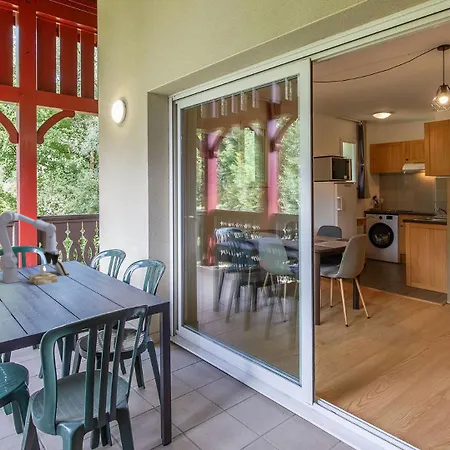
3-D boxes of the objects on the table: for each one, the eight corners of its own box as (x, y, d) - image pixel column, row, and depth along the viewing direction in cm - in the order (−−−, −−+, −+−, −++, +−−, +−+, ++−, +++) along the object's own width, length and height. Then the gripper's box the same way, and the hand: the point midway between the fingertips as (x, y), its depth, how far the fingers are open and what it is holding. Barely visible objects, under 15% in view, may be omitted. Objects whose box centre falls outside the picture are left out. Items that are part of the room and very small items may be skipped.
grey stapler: (70, 274, 257) (64, 261, 254) (63, 277, 254) (57, 264, 251) (64, 270, 270) (59, 258, 267) (57, 273, 267) (52, 260, 265)
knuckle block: (29, 281, 235) (29, 275, 235) (48, 278, 244) (48, 272, 244) (37, 285, 228) (37, 278, 227) (57, 281, 237) (57, 275, 236)
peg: (39, 281, 236) (39, 266, 235) (44, 281, 238) (44, 265, 237) (42, 282, 234) (41, 266, 233) (46, 281, 236) (46, 266, 235)
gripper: (62, 243, 240) (63, 264, 241) (52, 241, 249) (52, 261, 250) (51, 244, 234) (52, 266, 235) (41, 242, 244) (41, 263, 245)
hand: (51, 264), depth 242 cm, fingers open, 7 cm apart
